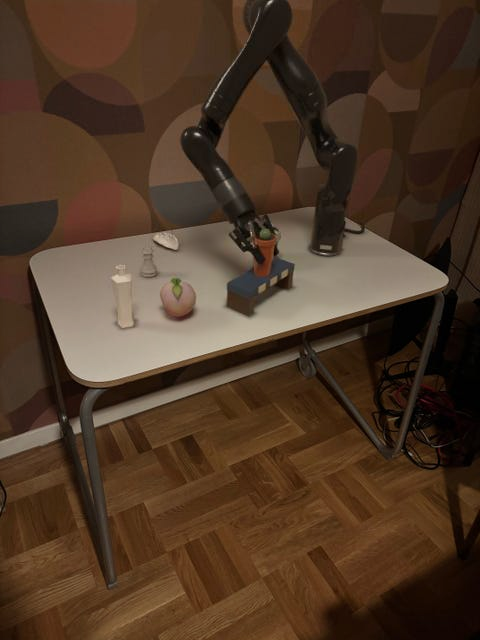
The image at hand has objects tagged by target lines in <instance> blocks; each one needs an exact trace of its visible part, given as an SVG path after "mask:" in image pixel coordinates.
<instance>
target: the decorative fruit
mask: <svg viewBox="0 0 480 640" xmlns="http://www.w3.org/2000/svg"><path fill="white" fill-rule="evenodd" d="M159 297H160V301H161V303H162V306H163V308H164V310H165V311H166V312H167V313H168V314H170V315H171V316H174V317H183V316H186V315H187V314H189V313H190V312H191V311H192V309H193V308H194V307H195V305H196V303H197V302H196V301H197V294H196V291H195V290H194V287H193V286H192V285H191V284H190V283H188V282H187V281H183V280H181V279H180V278H179V277H173V278H171V279H170V281H167V282H166V283H165V284H164V285H162V287H161V288H160V291H159Z"/></svg>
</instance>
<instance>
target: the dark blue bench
mask: <svg viewBox="0 0 480 640" xmlns="http://www.w3.org/2000/svg"><path fill="white" fill-rule="evenodd" d="M295 265H296V264H295V263H293V262H290V261H287V260H285V259H282V258H280V257H277V256H276V257H273V261H272V265H271V274H270V275H269V276H267V277H259V276H256V275H255V274H254V267H252V268H250V269H248V270H247V271H245V272H243V273H241V274H240V275H238V276H236V277H234V278H233V279H231V280H229V281H228V282H226V291H227V293H226V307H227V308H229V309H231V310H233V311H236V312H238V313H239V314H242V315H245V316H247V317H251V316H252V315H253V314H254V311H255V299H256V297H258V296H260V295H261V294H262V293H263V294H264V292H266V291H268V290H269V289H271V288H273V287H274V286H277V287H280V288H281V289H285V290H287V291H289V290H290V289H291V288H293V280H294V271H295Z"/></svg>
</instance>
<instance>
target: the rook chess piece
mask: <svg viewBox="0 0 480 640" xmlns="http://www.w3.org/2000/svg"><path fill="white" fill-rule="evenodd" d="M154 252H155V251H154V249H153V247H152V246H151V245H148V246H147V245H145V246H142V250H141V253H142V259H143V262H142V263H143V264H142V266H141V268H140V275H141V276H142V277H144V278H153V277H155V276H156V275H157V274H158V271H157V269H158V268H157V267H156V265H155V263H154V260H153V257H154V255H153V253H154Z"/></svg>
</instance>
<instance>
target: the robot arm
mask: <svg viewBox="0 0 480 640" xmlns="http://www.w3.org/2000/svg"><path fill="white" fill-rule="evenodd" d="M293 17H294V15H293V9H292V5H291V4H290V2H289V0H246V1H245V2H244V5H243V8H242V22H243V25H244V28H245V31H246V32H247V33H248V37H247V39H246V41H245V43H244V45H243V46H242V48H241V50H240V51H239V52H238V53H237V54H236V56H235V57H234V59H232V61H231V62H230V63H229V64H228V65H227V67H225V69H224V70H223V71H222V72H221V73H220V74H219V76H218V77H217V78H216V80H215V81H214V83H213V84H212V86H211V88H210V90H209V91H208V93H207V95H206V97H205V99H204V100H203V102H202V104H201V108H200V113H201V116H200V119H199V122H198V124H197V125H190V126H187V127H185V129H183V130H182V132H181V134H180V137H179V144H180V147H181V151H183V153H184V155H185V156H186V158H187V159H188V160H189V161H190V163H191V164H192V165H193V167H194V168H195V169H196V170H197V172H198V173H199V174H200V175H201V177H202V179H203V180H204V182H205V183H206V186H207V187H208V188H209V190H210V191H211V193H212V195H213V198H214V200H215V202H216V203H217V205H218V207H219V208H220V210H221V211H222V213H223V215H224V216H225V219H226V220H227V221H228V223H229V224H231V225H233V226H234V229H232V231H230V232H228V236H229V238H230V239H231V240H232V241H233V243H234V244H235V245H237V247H238V248H239V249H240V250H241V252H243V253H246V252H249V253H250V254H251V256H252V257H254V258H255V260H256V262H257V263H258V264H262V263H263V262H265V261H266V259H265V257H264V255H263V254H262V252H261V250H260V249H259V247H258V248H257V245H256V243H255V240H254V238H256V235H255V234H256V233H259V232H260V231H261V230H262V229H269V231H270V232H271V233H272V234H274V235H275V231H274V229H273V227H272V224H273V223H272V222H271V220H270V218H269V215H268V214H264V215H262V216H261V215H258V214H257V212H256V205H255V204H254V202H253V200H252V199H251V197H250V195H249V193H248V192H247V191H246V189H245V188H244V186H243V184H242V182H241V181H240V180H239V179H238V178H237V176H236V174H235V172H234V171H233V169H232V168H231V166H230V165H229V164H228V162H227V161H226V160H225V159H224V158H223V157H222V156H221V155H220V154H219V153H218V151H217V146H218V145H219V143H220V141H221V139H222V135H223V133H224V130H225V126H226V124H227V122H228V120H229V119H230V118H231V115H232V114H233V112H234V110H235V108H236V107H237V105H238V103H239V102H240V100H241V98H242V96H243V95H244V93H245V92H246V90H247V89H248V87H249V85H250V83H251V82H252V81H253V79H254V77H256V75H257V73H258V72H259V71H260V69H261V68H262V67H263V65H264V64H265V63H266V62H267V63H268V66H269V67H270V70H271V72H272V73H273V76H274V78H275V80H276V82H277V84H278V86H279V88H280V90H281V92H282V94H283V97H284V98H285V100H286V102H287V104H288V106H289V107H290V109H291V111H292V113H293V115H294V116H295V118H296V121H298V124H299V125H300V127H301V128H302V130H303V132H304V134H305V136H306V137H307V139H308V141H309V145H310V147H311V149H312V152H313V154H314V157H315V160H316V162H317V164H318V165H319V167H320V168H321V169H323V170H324V171H326V172H328V177H327V180H326V181H327V182H324V183H320V184H319V185H318V187H317V191H316V199H315V208H314V213H313V222H312V230H311V238H310V244H309V251H311V252H312V253H313V254H316V255H319V256H324V257H332V256H333V257H334V256H336V255H339V254H340V251H341V250H342V246H343V241H344V237H345V232H348V233H352V234H362V233H364V232H365V230H366V226H365V222H364V221H362V220H361V221H360V222H359V225H360V226H361V229H360V230H355V229H350V228H347V227H346V225H347V224H346V223H347V222H346V216H347V215H346V214H347V209H348V202H349V197H350V194H351V192H352V190H353V188H354V185H355V180H356V175H357V171H358V166H359V161H360V159H359V156H360V155H359V150H358V148H357V147H356V146H355V145H354V144H352V143H350V142H348V141H346V140H343V139H341V138H339V136H337V134H336V133H335V131H334V129H333V127H332V126H331V124H330V121H329V118H328V99H327V96H326V93H325V90H324V88H323V86H322V84H321V81H320V79H319V77H318V75H317V74H316V72H315V71H314V69H313V67H312V66H311V65H310V64H309V63H308V61H307V60H306V59H305V58H304V57H303V56H302V54H301V53H300V52H299V50H297V49H296V47H295V46H294V45H293V42H292V41H291V38H290V36H289V35H288V32H289V31H290V29H291V26H292V23H293ZM279 254H280V251H279V249H278V246H277V247H276V245H274V256H276V257H277V255H279ZM274 256H273V257H274Z"/></svg>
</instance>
